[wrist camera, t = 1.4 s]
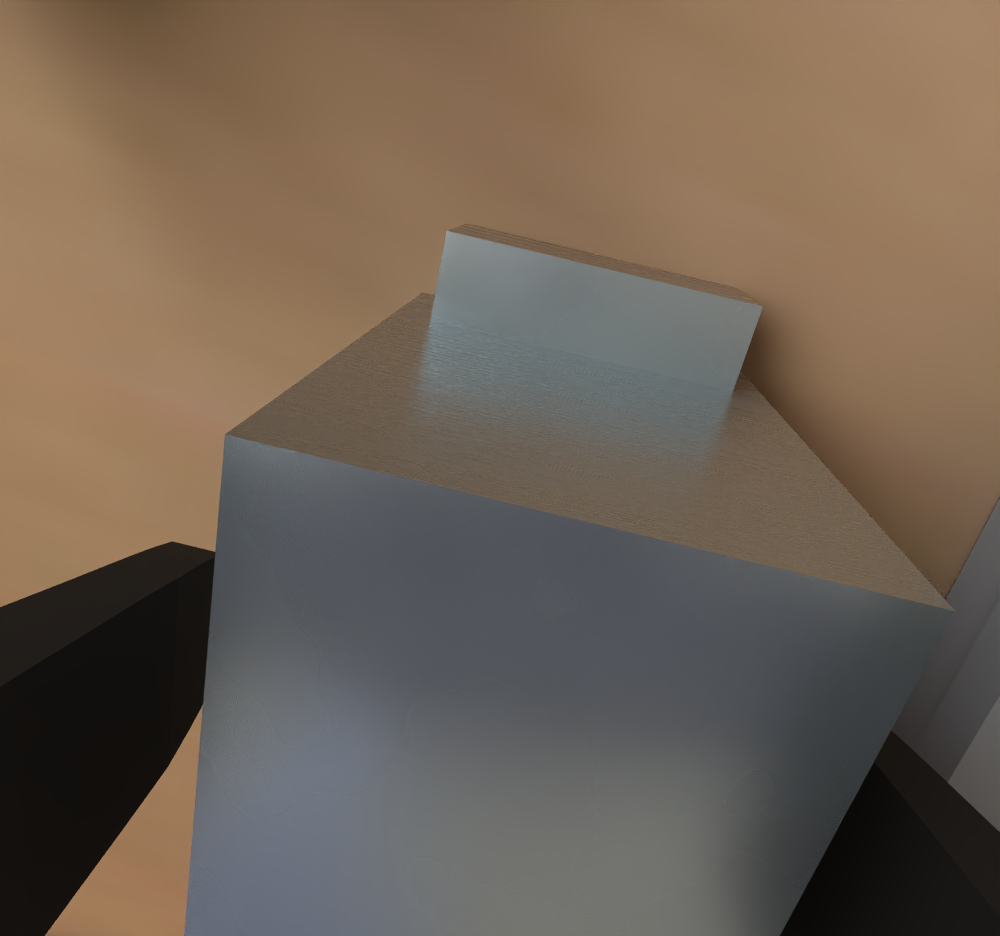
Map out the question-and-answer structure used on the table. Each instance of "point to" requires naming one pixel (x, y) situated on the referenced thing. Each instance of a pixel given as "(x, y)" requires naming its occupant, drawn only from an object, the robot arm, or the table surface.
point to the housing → (539, 624)
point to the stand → (964, 685)
